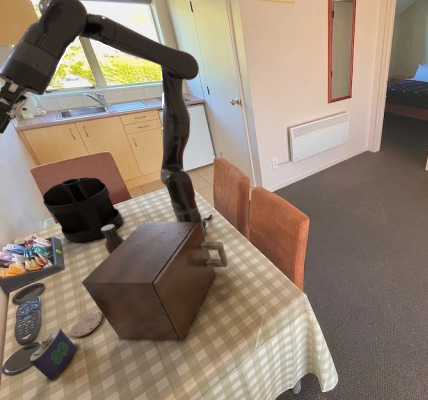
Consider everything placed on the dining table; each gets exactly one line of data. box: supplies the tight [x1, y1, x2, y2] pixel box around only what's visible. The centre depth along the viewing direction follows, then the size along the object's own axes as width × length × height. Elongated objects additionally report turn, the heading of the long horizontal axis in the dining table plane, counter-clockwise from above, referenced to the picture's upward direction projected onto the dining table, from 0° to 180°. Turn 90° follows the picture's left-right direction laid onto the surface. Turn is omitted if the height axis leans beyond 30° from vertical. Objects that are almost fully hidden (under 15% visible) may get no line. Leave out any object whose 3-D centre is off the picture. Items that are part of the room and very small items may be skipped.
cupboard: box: [81, 221, 196, 340], centre depth 84 cm, size 18×26×24 cm
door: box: [153, 223, 229, 340], centre depth 83 cm, size 8×26×24 cm, turn 178°
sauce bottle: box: [101, 224, 125, 256], centre depth 98 cm, size 7×6×20 cm
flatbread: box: [69, 312, 103, 338], centre depth 82 cm, size 8×8×1 cm
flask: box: [29, 327, 77, 381], centre depth 70 cm, size 9×3×11 cm, turn 8°
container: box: [42, 176, 124, 243], centre depth 120 cm, size 22×23×25 cm
